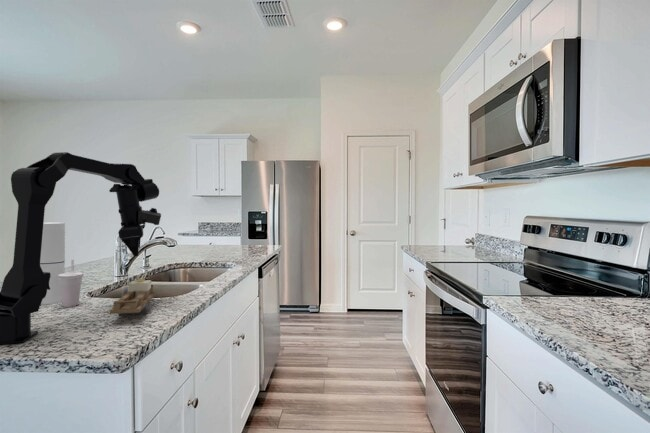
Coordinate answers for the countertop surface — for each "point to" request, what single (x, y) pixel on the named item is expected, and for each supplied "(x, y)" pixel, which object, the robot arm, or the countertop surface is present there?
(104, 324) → the countertop surface
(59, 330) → the countertop surface
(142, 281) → the block
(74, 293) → the smoothie
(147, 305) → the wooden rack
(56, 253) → the cylindrical container
